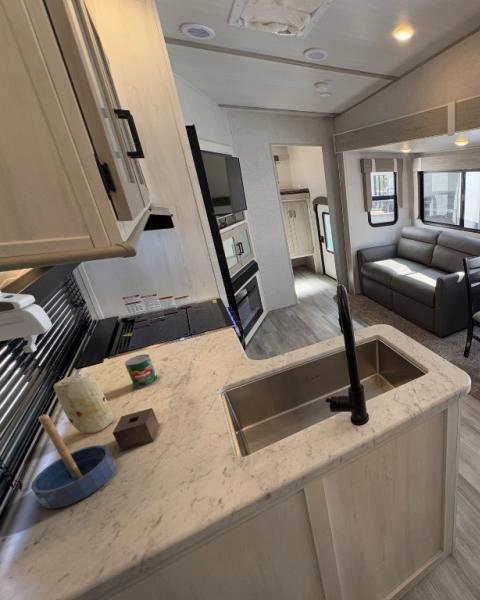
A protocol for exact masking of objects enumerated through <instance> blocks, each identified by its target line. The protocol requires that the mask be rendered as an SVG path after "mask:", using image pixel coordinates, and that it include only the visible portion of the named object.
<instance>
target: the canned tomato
mask: <svg viewBox="0 0 480 600" xmlns="http://www.w3.org/2000/svg"><path fill="white" fill-rule="evenodd" d="M124 365H125V368H126V370H127V373H128V375H129V377H130V379H131V382H132V384H133V387H134V388H135V389H143V388H147V387H149V386H151V385H153V384H156V382H157V381H158V380H159V377H158V375H157V372H156V371H155V367H154V365H153V362H152V359H151V356H150V355H149V354H147V353H146V354H145V353H144V354H138V355H136V356H133V357H131V358H129V359H127V360H125V362H124Z"/></svg>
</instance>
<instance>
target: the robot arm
mask: <svg viewBox="0 0 480 600" xmlns="http://www.w3.org/2000/svg"><path fill="white" fill-rule="evenodd" d="M52 327H53V323H52V321H51V319H50V317H49V315H48V314H47V312H46V311H45V309H43V307H42V306H40V305H38V304H36V299H35V297H34V295H32V294H25V293H10V292H2V290H0V342H3V341H4V342H5V341H9V340H14V339H20V338H23V340H24V341H27V344H25V345H24V346H23V347H22V349H23V351H24V353H26V354H28V353H34V352H36V351H37V349H38V348H37V345H36V341H37V338H38V335H42V334H46V333H47V332H48V331H50V330H51V329H52Z"/></svg>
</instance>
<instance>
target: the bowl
mask: <svg viewBox="0 0 480 600" xmlns="http://www.w3.org/2000/svg"><path fill="white" fill-rule="evenodd" d="M69 453H70V455H71V456H72V458H73V460H74V462H75V463H76V465H77V467H78V469H79V470H80V472H81V474H82V477H81V478H79V479H77V480H76V481H74V479H73V477H72V476H71V474H70V472H69V470H68V469H67V467H66V465H65V464H64V462H63V460H62V458H61V457H60V458H59V459H57V460H55V461H54V462H52V463H51V464H49V465H48V466H46V467H45V468H44V469H43V470H42V471H40V472H39V473H38V474H37V475H36V477H35V478H34V479H33V481H32V482H31V485H30V486H31V487H30V489H31V491H32V493H33V494H34V496H35V497H36V498H37V501H38V502H39V503H40V505H41V506H42V507H43V508H44V509H49V510H50V509H51V510H53V509H59V508H64V507H66V506H69V505H72V504H74V503H76V502H78V501H80V500H82V499H84V498H86V497H88V496H89V495H91V494H93V493H95V492H96V491H97V490H99V489H100V488H101V487H102V486H103V485H104V484H106V483H107V482H108V481H109V480H110V478H111V477H112V476H113V475H114V473H115V472H116V469H117V463H116V460H115V459H114V457H113V454H112V452H111V451H110V449H109V447H107V446H106V445H100V444H97V445H91V446H86V447H83V448H79V449H77V450H75V451H73V452H69Z"/></svg>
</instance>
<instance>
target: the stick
mask: <svg viewBox="0 0 480 600" xmlns="http://www.w3.org/2000/svg"><path fill="white" fill-rule="evenodd" d="M37 418H38V420H39V422H40V424H41V426H42V428H43V429H44V431H45V433H46V434H47V436H48V439H49V440H50V441H51V443H52V445H53V446H54V448H55V449H56V451H57V454H58V455H59V456H60V458H62V460H63V462H64V464H65V465H66V467H67V469H68V470H69V472H70V474H71V476H72V477H73V479H74V481H76V480H77V479H79V478H81V477H82V474H81V472H80V470H79V469H78V467H77V465H76V463H75V462H74V460H73V458H72V456H71V455H70V453H71V452H70V451H69V449H68V447H67V446H66V444H65V442H64V441H63V439H62V437H61V436H60V433H59V431H58V430H57V428H56V426H55V424H54V422H53V421H52V419H51V418H50V416H49V414H48V413H44V414H41V415H39V416H38V417H37Z"/></svg>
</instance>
